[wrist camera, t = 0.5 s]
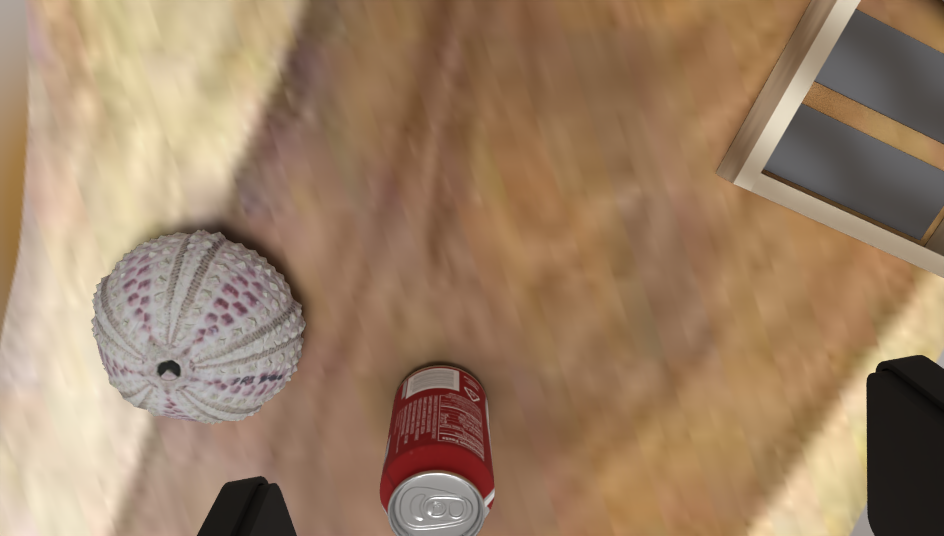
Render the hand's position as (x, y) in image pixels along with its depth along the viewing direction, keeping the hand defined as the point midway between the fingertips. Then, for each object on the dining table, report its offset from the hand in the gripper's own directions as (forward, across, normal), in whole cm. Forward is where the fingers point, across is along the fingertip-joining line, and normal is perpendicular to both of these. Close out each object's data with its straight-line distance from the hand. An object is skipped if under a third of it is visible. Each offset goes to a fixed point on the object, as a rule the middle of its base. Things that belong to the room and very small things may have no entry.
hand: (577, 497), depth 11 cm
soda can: (+34, +7, +17) cm, 39 cm away
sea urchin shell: (+35, +21, +7) cm, 41 cm away
